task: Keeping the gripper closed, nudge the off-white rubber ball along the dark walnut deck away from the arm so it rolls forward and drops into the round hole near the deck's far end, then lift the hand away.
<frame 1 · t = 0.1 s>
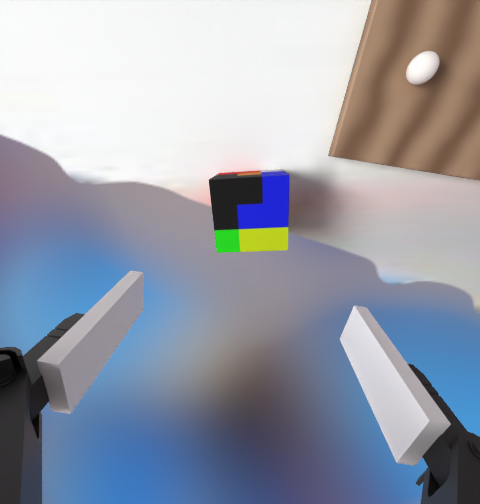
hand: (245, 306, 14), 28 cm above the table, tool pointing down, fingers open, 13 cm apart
deck: (451, 86, 32), on the table
puzzle toy: (251, 201, 40), on the table
ball: (422, 68, 28), point 4 cm above the table, touching deck
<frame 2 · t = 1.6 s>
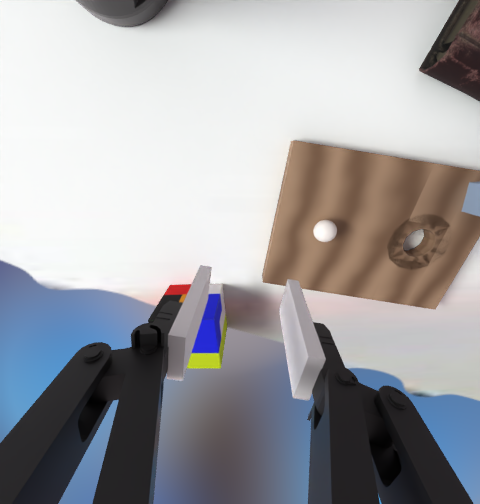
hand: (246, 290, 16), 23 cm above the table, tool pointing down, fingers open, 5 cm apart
deck: (360, 229, 37), on the table
puzzle toy: (199, 305, 45), on the table
ball: (324, 231, 33), point 4 cm above the table, touching deck
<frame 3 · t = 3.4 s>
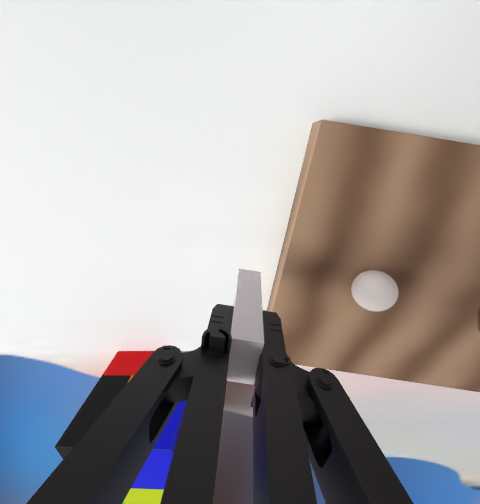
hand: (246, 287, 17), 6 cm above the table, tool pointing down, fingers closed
deck: (425, 277, 22), on the table
puzzle toy: (166, 377, 30), on the table
ball: (373, 290, 18), point 4 cm above the table, touching deck
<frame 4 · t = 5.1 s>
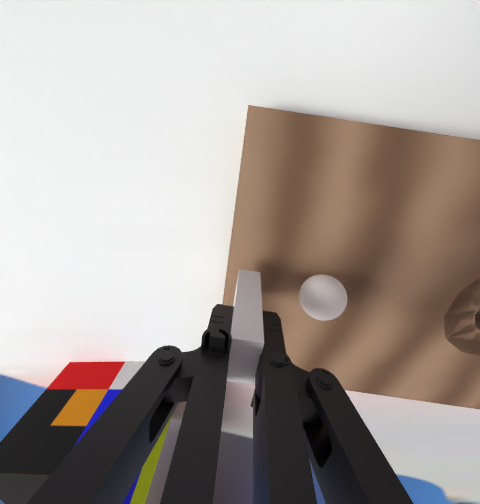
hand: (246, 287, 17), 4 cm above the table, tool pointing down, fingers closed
deck: (388, 281, 20), on the table
puzzle toy: (124, 389, 28), on the table
ball: (322, 297, 16), point 4 cm above the table, touching deck
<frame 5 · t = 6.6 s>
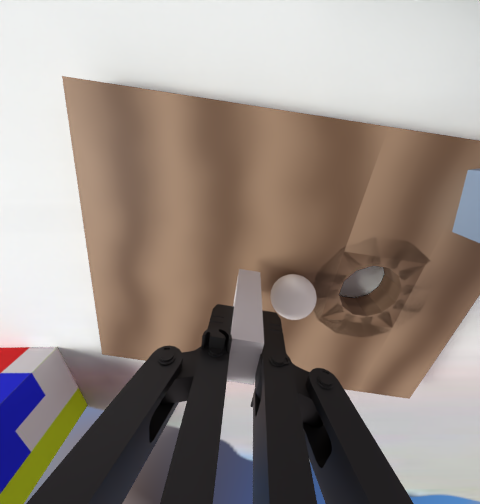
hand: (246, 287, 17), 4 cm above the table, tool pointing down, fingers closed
deck: (266, 262, 20), on the table
puzzle toy: (36, 376, 28), on the table
ball: (293, 296, 16), point 4 cm above the table, tilted 48°, touching deck
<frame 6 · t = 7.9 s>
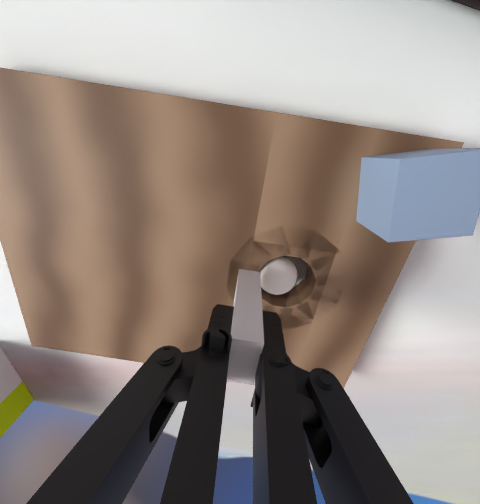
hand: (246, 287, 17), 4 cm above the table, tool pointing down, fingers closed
blue block: (391, 187, 15), point 2 cm above the table, touching deck
deck: (190, 253, 20), on the table
ball: (276, 274, 18), point 2 cm above the table, tilted 138°
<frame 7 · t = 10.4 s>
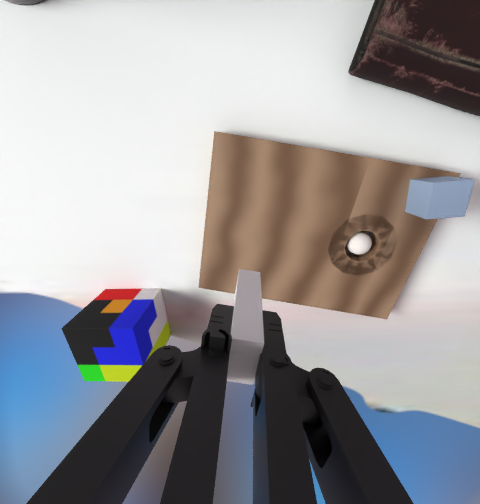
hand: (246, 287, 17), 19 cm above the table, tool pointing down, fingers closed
blue block: (424, 194, 29), point 2 cm above the table, touching deck
deck: (301, 231, 34), on the table
puzzle toy: (140, 311, 42), on the table
ball: (358, 243, 33), point 2 cm above the table, tilted 137°
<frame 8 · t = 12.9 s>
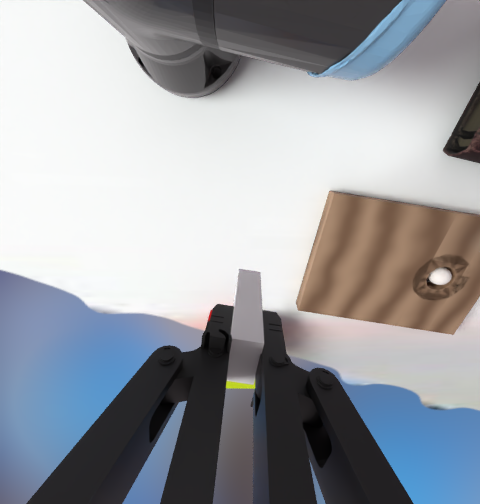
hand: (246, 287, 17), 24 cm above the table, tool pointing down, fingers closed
deck: (387, 264, 42), on the table
ball: (439, 275, 40), point 2 cm above the table, tilted 131°
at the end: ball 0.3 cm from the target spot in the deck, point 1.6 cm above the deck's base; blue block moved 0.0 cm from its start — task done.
